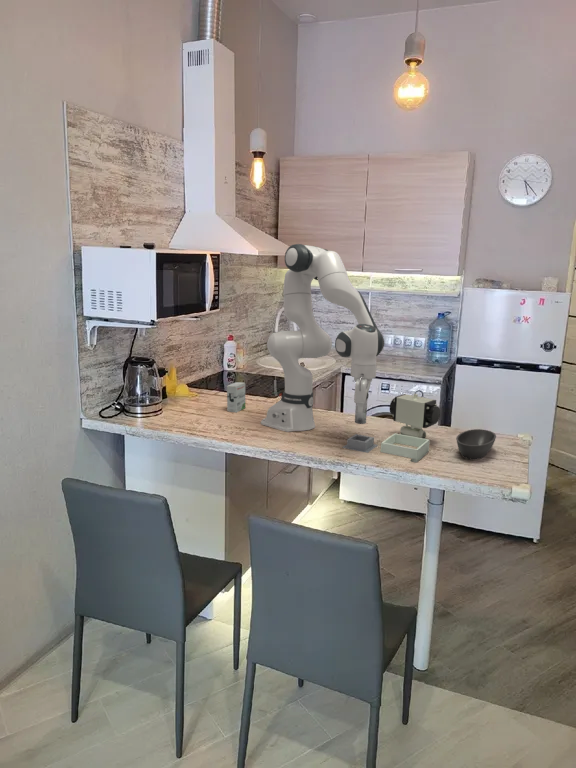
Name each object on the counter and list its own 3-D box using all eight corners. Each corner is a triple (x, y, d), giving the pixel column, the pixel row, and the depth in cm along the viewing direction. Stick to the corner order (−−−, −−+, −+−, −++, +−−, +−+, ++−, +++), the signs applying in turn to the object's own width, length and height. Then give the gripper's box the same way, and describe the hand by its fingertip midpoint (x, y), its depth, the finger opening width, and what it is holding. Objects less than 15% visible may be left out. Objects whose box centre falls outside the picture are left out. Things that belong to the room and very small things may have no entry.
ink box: (236, 406, 263) (236, 381, 260) (246, 408, 261) (246, 382, 258) (226, 411, 255) (226, 385, 253) (236, 412, 253) (236, 386, 251)
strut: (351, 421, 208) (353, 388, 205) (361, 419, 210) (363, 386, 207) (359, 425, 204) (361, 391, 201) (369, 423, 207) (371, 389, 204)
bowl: (500, 449, 213) (502, 433, 211) (482, 466, 195) (484, 448, 194) (468, 442, 219) (469, 426, 218) (447, 458, 202) (448, 441, 200)
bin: (380, 455, 204) (381, 442, 203) (393, 444, 215) (394, 433, 214) (416, 462, 197) (417, 449, 196) (428, 451, 208) (429, 439, 207)
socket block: (341, 450, 207) (342, 439, 206) (353, 443, 216) (353, 432, 215) (367, 455, 202) (368, 444, 202) (378, 448, 211) (379, 437, 210)
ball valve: (440, 441, 220) (443, 396, 216) (429, 446, 214) (432, 400, 210) (398, 431, 231) (401, 388, 227) (387, 435, 225) (390, 391, 221)
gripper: (370, 378, 192) (367, 418, 196) (374, 365, 212) (372, 402, 215) (351, 377, 193) (348, 416, 197) (357, 364, 213) (355, 400, 216)
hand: (361, 409), depth 206 cm, fingers closed on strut, 4 cm apart
